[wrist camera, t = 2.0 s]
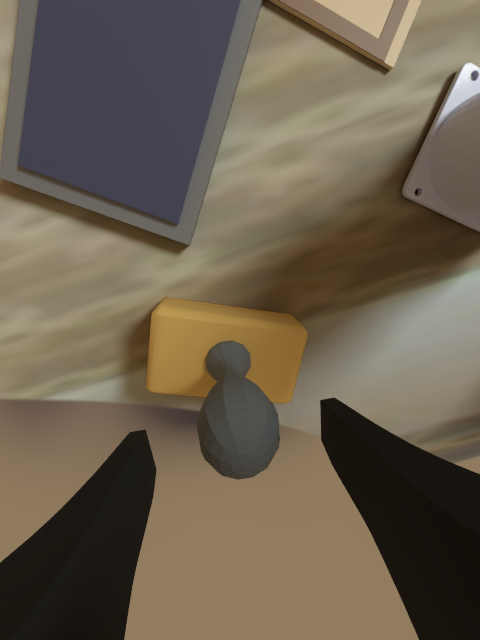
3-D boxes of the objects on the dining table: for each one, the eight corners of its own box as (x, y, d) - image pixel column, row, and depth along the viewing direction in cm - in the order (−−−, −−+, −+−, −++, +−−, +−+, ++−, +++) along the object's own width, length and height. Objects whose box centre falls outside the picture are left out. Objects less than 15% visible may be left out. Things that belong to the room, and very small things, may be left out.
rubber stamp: (293, 313, 21) (396, 407, 9) (278, 379, 22) (349, 529, 11) (161, 295, 19) (93, 381, 8) (155, 368, 21) (90, 526, 9)
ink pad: (263, -3, 15) (268, -24, 14) (190, 244, 18) (188, 245, 17) (49, -126, 13) (32, -165, 11) (11, 181, 16) (-5, 176, 15)
